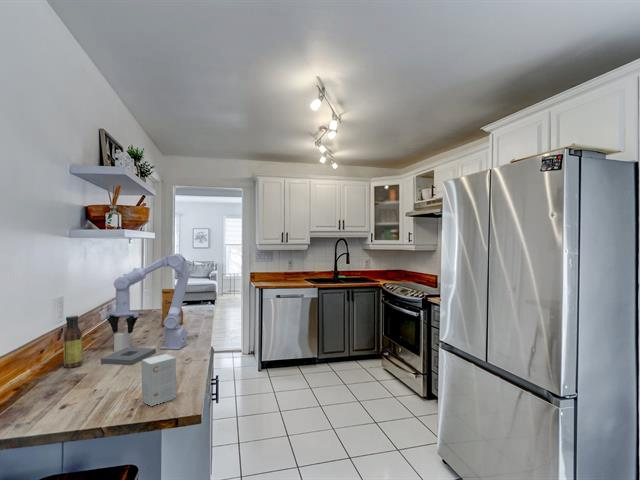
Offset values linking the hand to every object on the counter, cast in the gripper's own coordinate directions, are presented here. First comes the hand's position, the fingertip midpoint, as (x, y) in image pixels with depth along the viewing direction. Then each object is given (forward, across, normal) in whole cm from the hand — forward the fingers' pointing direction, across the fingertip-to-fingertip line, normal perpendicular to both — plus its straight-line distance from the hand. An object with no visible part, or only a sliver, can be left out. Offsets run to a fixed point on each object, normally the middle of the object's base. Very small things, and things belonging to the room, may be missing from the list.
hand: (122, 332), depth 164 cm
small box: (+8, +48, -46) cm, 67 cm away
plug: (+8, 0, 0) cm, 8 cm away
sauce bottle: (+8, -5, -22) cm, 24 cm away
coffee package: (+8, -6, +51) cm, 52 cm away
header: (+8, +11, -10) cm, 17 cm away
